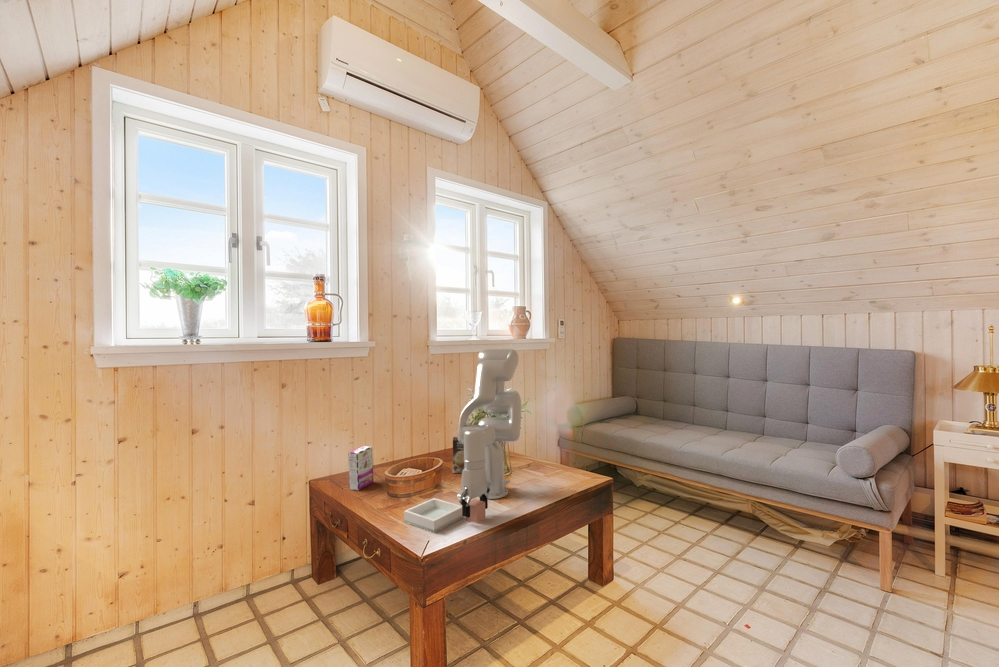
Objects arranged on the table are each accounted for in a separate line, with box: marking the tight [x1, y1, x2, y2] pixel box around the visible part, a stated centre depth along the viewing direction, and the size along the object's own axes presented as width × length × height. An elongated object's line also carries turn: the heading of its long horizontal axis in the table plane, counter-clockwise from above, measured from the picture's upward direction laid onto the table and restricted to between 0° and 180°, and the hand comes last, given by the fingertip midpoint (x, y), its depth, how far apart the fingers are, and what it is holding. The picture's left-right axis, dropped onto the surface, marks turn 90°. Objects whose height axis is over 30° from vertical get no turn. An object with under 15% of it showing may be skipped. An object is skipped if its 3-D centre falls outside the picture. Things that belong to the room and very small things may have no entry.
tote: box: [403, 497, 464, 534], centre depth 161 cm, size 15×15×4 cm
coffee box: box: [452, 436, 464, 474], centre depth 215 cm, size 9×6×16 cm
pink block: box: [465, 498, 487, 524], centre depth 161 cm, size 5×5×6 cm
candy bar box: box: [348, 445, 374, 491], centre depth 198 cm, size 11×5×16 cm, turn 161°
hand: (475, 512), depth 160 cm, fingers open, 9 cm apart
